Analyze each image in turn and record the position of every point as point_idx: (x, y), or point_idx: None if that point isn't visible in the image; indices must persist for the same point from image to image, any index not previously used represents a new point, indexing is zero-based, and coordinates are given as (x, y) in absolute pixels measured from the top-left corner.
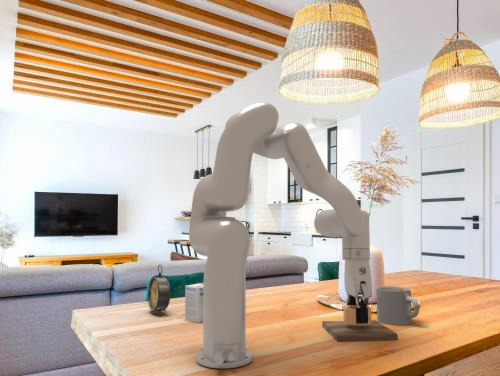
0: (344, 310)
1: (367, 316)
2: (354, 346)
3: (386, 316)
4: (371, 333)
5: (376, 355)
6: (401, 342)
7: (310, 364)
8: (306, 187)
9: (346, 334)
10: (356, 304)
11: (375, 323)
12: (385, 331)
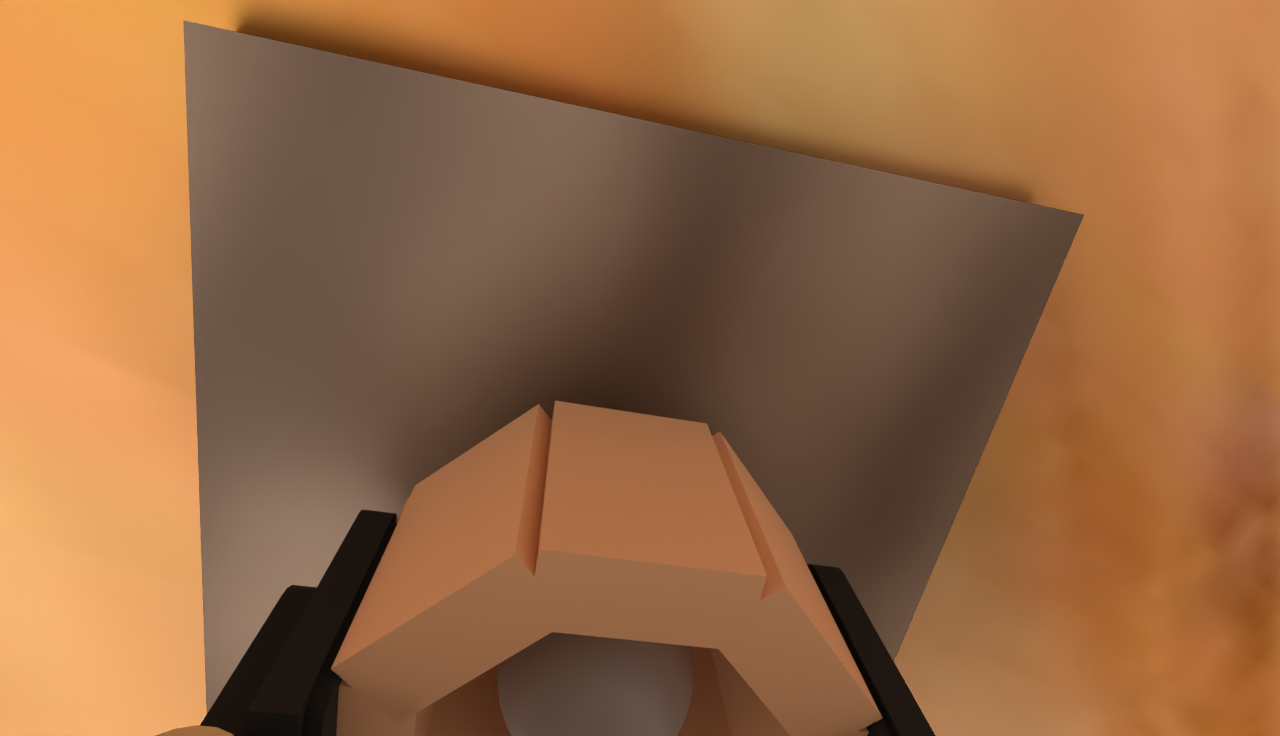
0: None
1: (869, 640)
2: (984, 703)
3: None
4: (909, 517)
5: (1251, 650)
6: (1120, 221)
7: None
8: None
9: None
10: (331, 723)
11: (438, 177)
12: (906, 301)
